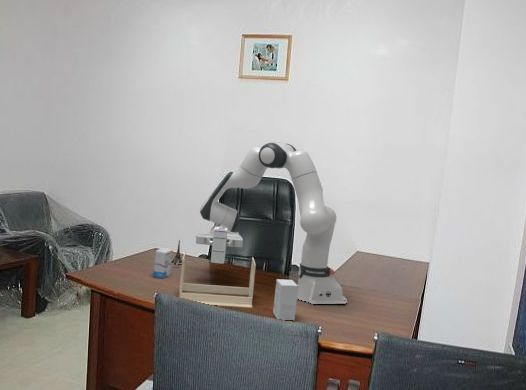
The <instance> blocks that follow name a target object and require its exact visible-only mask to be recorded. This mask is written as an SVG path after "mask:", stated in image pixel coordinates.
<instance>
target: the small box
mask: <svg viewBox="0 0 526 390" xmlns="http://www.w3.org/2000/svg"><path fill="white" fill-rule="evenodd" d="M275 282H276V283H275V289H274V291H275V292H274V299H273V301H274V302H273V309H272V313H273V315H274V316H275V318H276V319H277V320H278V319H282V320H293V321H292V322H294V321H295V320H296V312H297V311H296V310H297V301H298V299H297V293H298V285H297V284H298V283H296V282H295V281H294V280H293V279H283V278H282V279H281V278H279V279H278V278H276V280H275Z"/></svg>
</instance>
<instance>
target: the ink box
mask: <svg viewBox="0 0 526 390" xmlns="http://www.w3.org/2000/svg"><path fill="white" fill-rule="evenodd" d="M173 253H174V249H171V248H168V247H166V248H165V247H162V248H159V249H157V250H156V251H155V257H154V265H153V278H156V279H157V278H159V279H165V278H167V277H168V276H170V275H171V271H172V267H171V263H172V260H173Z"/></svg>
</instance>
